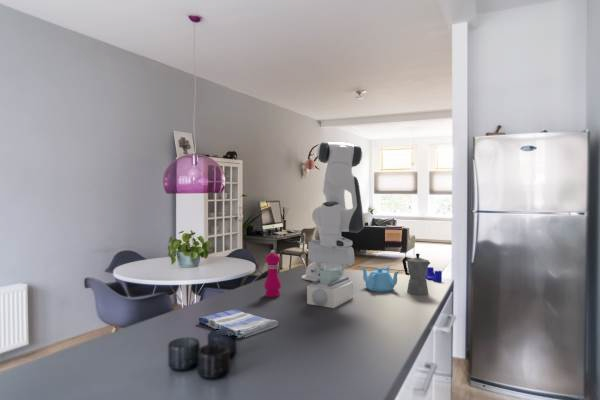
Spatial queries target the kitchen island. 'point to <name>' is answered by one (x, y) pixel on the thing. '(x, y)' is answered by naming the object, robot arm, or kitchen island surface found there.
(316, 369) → the kitchen island surface
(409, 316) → the kitchen island surface
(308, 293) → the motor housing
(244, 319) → the dish towel
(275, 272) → the pepper mill
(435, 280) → the cable clip
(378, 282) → the teapot
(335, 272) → the pale green block
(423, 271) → the coffeepot
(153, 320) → the kitchen island surface
